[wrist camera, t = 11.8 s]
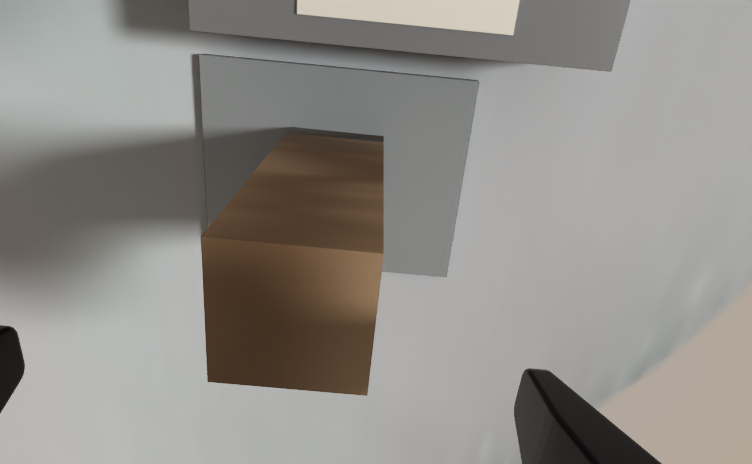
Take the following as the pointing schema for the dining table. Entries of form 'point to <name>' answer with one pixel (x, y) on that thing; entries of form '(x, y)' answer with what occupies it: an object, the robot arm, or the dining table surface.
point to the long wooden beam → (298, 267)
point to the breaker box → (434, 26)
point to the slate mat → (353, 115)
